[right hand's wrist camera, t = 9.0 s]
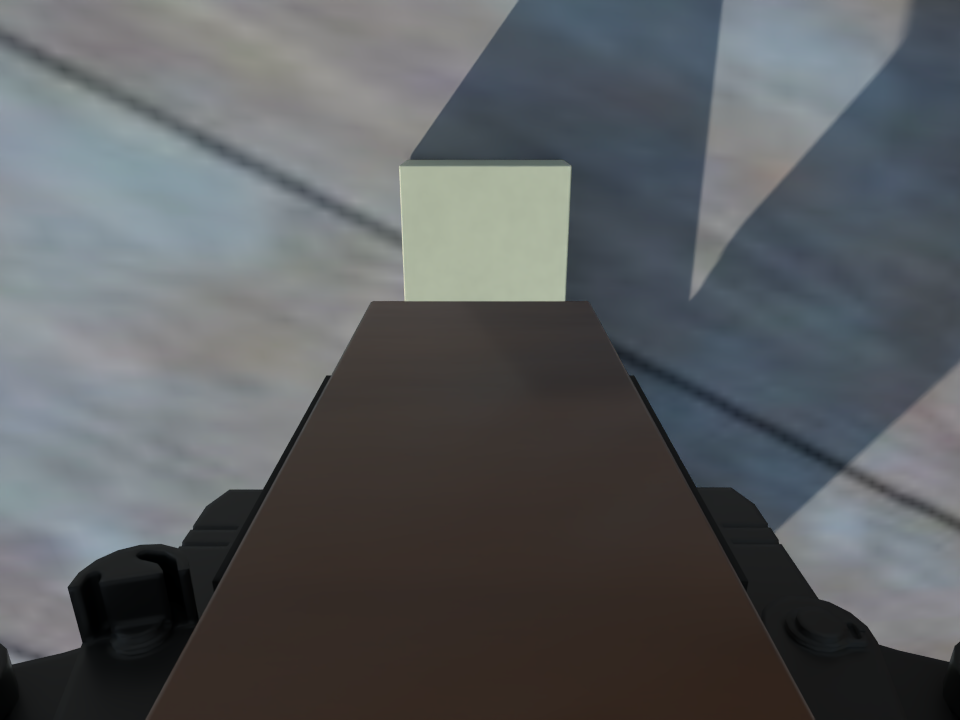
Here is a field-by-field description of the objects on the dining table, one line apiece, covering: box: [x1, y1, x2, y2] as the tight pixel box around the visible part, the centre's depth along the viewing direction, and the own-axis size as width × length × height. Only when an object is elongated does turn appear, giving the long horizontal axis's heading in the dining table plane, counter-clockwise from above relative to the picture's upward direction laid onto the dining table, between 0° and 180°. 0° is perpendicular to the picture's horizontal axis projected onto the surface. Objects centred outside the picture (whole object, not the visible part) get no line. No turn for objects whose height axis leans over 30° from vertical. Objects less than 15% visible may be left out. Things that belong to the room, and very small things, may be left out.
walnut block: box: [145, 301, 815, 720], centre depth 11 cm, size 5×5×12 cm
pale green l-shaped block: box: [399, 160, 572, 301], centre depth 30 cm, size 26×7×11 cm, turn 0°
